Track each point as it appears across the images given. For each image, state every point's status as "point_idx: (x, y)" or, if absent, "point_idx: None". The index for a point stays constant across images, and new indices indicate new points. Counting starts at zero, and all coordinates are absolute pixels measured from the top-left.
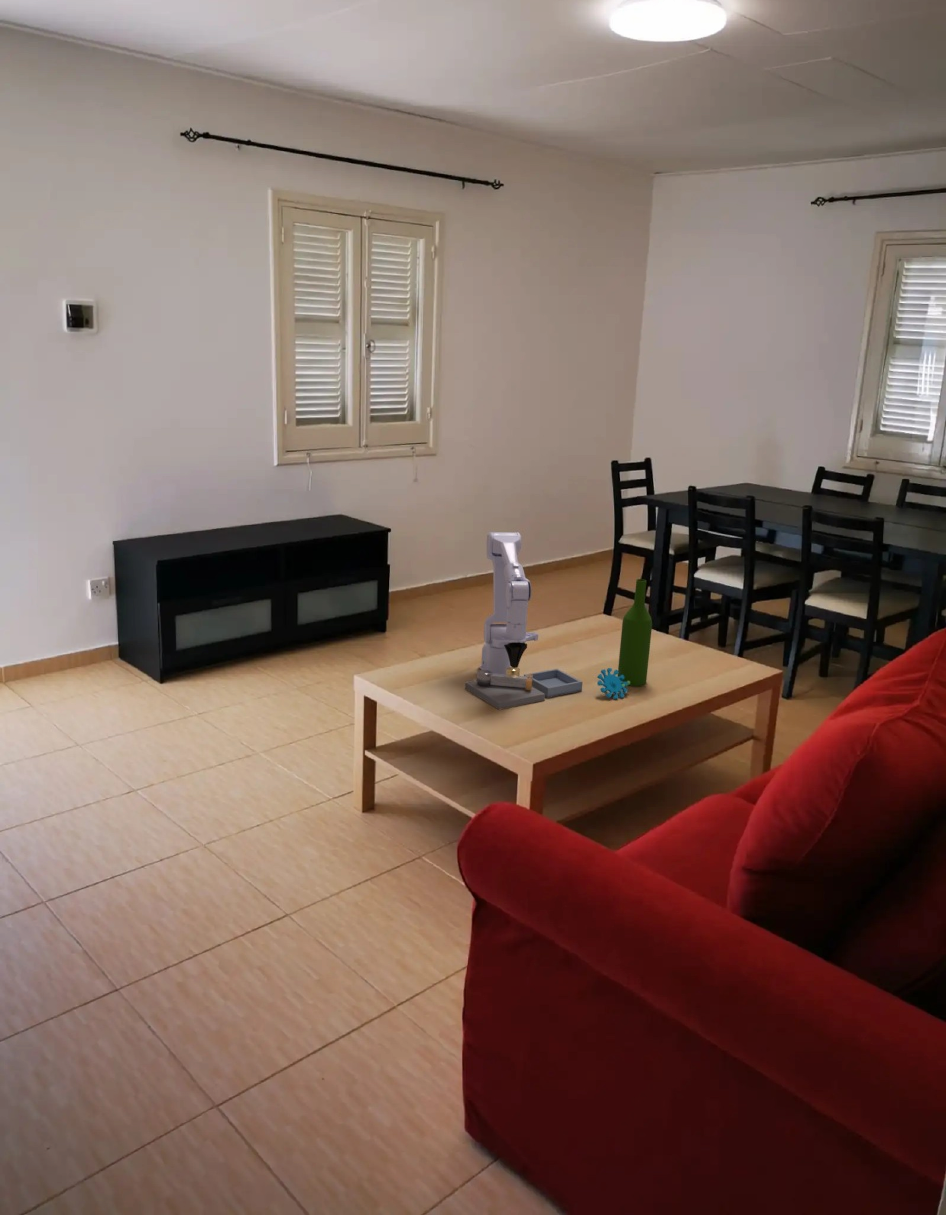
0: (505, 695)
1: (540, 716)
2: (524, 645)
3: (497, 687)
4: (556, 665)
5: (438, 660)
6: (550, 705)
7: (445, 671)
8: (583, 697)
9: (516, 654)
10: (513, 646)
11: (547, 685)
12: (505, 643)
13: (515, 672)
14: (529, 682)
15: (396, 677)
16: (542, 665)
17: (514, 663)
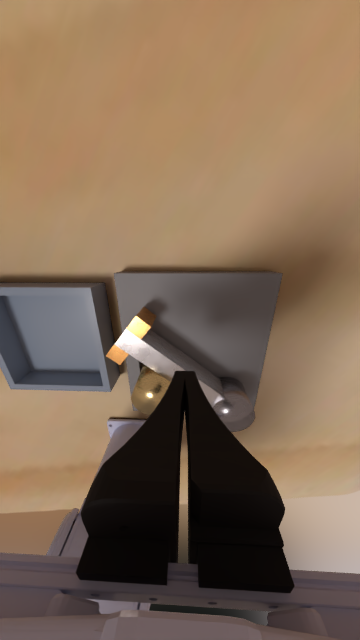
0: (226, 313)
1: (200, 161)
2: (129, 503)
3: (208, 364)
4: (9, 418)
5: None
6: (123, 231)
7: None
8: (4, 241)
9: (201, 424)
10: (247, 519)
11: (72, 341)
12: (334, 597)
13: (156, 381)
14: (143, 318)
15: (314, 476)
16: (37, 427)
17: (198, 383)
